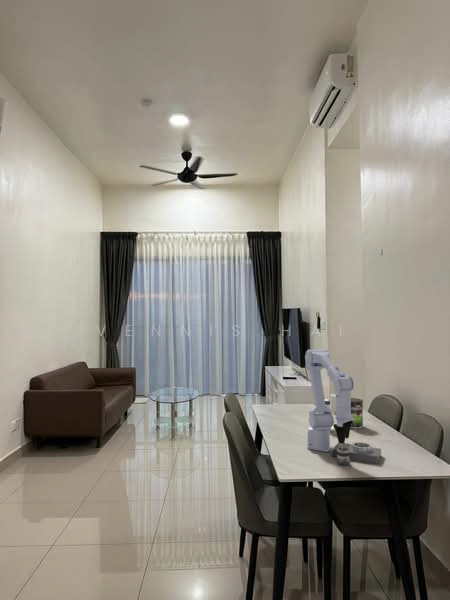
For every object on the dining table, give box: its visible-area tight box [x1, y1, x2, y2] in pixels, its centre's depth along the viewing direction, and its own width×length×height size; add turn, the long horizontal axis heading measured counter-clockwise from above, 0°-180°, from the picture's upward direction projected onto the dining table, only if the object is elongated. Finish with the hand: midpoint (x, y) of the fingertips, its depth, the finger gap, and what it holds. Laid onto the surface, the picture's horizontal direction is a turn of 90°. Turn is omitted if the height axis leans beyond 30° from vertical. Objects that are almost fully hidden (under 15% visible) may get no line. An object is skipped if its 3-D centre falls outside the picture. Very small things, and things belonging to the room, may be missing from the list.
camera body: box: [331, 441, 382, 465], centre depth 179 cm, size 18×11×5 cm, turn 62°
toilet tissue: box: [330, 393, 336, 414], centre depth 260 cm, size 11×12×10 cm
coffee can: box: [350, 397, 364, 430], centre depth 227 cm, size 10×10×14 cm
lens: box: [336, 447, 351, 467], centre depth 170 cm, size 5×5×6 cm
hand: (343, 440), depth 170 cm, fingers open, 7 cm apart
